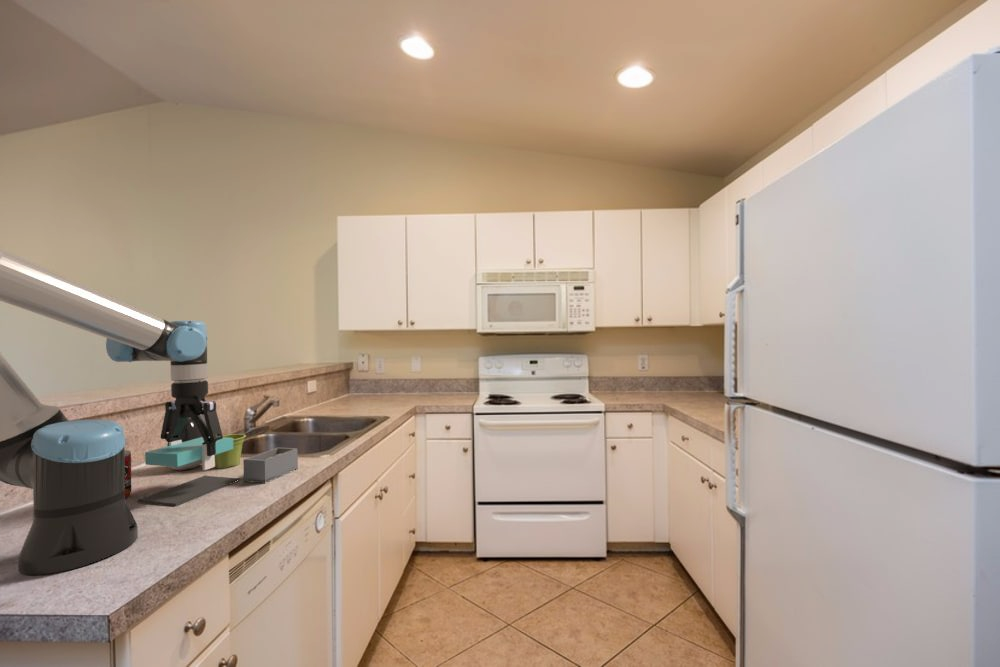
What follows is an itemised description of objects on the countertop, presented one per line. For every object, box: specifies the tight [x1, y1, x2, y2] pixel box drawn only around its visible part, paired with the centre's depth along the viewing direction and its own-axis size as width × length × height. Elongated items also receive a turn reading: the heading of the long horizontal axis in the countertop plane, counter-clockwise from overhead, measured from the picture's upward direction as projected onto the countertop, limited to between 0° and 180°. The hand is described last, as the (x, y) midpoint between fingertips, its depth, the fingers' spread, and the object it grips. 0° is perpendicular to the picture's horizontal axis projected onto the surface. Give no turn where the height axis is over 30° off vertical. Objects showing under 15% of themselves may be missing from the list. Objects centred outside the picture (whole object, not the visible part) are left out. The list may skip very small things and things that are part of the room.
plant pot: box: [215, 433, 247, 469], centre depth 124 cm, size 9×9×9 cm
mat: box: [136, 475, 240, 507], centre depth 103 cm, size 17×12×1 cm
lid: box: [144, 436, 233, 467], centre depth 104 cm, size 10×15×3 cm, turn 166°
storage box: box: [242, 447, 299, 483], centre depth 114 cm, size 7×12×6 cm, turn 166°
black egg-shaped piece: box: [166, 418, 202, 471], centre depth 123 cm, size 10×10×15 cm
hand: (192, 467), depth 104 cm, fingers closed on lid, 10 cm apart
